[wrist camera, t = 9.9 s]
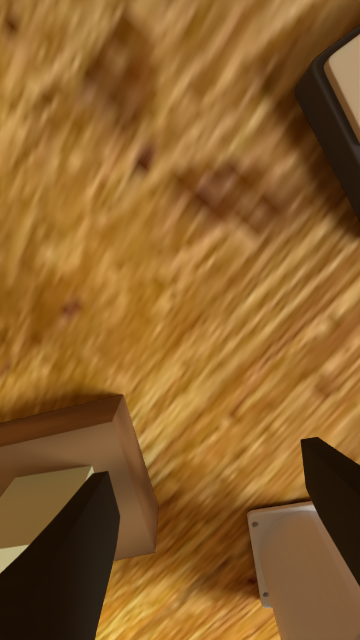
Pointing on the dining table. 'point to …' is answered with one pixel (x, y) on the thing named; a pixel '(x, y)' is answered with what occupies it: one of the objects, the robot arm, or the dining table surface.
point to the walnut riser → (88, 461)
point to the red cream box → (336, 109)
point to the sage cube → (34, 507)
